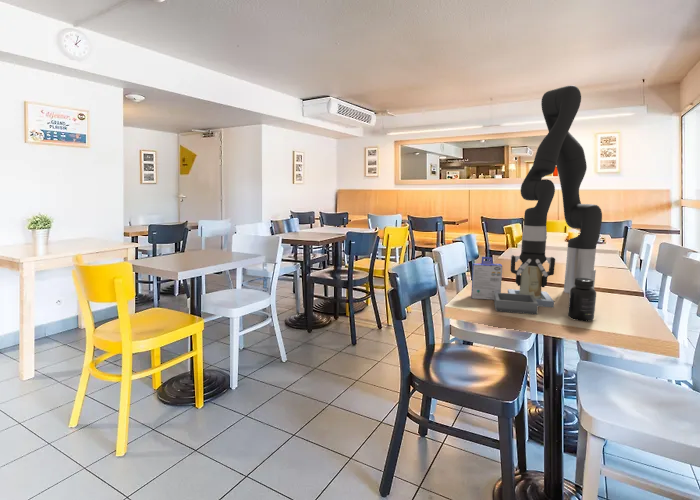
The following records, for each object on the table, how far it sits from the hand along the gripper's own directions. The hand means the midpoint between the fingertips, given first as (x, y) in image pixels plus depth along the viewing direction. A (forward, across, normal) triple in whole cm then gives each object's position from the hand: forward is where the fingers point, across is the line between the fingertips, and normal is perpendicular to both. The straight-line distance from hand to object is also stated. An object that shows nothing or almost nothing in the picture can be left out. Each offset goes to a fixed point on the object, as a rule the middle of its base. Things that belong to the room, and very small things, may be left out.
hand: (530, 286), depth 142 cm
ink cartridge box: (+5, +15, +1) cm, 16 cm away
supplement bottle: (+5, -12, +18) cm, 22 cm away
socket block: (+5, 0, 0) cm, 5 cm away
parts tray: (+5, +6, +12) cm, 14 cm away
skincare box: (+5, 0, 0) cm, 5 cm away
